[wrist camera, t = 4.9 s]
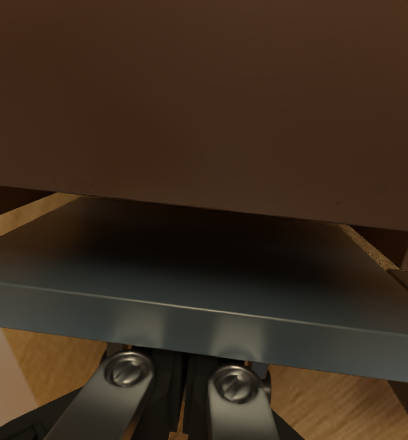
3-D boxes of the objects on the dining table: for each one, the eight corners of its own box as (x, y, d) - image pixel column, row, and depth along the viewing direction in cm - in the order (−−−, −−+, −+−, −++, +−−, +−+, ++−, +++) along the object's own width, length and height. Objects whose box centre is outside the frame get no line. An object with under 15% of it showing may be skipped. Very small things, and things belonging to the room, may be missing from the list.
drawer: (310, 338, 15) (382, 529, 8) (84, 308, 15) (-36, 461, 8) (432, -157, 9) (1078, -1054, 2) (67, -175, 10) (-345, -930, 3)
